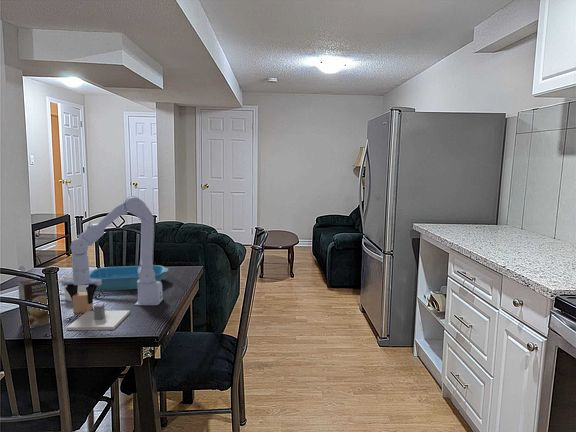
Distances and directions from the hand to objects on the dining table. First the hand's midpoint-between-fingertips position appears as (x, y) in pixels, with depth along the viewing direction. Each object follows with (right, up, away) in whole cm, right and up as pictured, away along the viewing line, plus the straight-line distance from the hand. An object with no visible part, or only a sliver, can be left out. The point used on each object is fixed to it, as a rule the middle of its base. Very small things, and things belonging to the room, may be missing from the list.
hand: (83, 303), depth 160 cm
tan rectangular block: (0, -3, 0) cm, 3 cm away
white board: (+11, -4, -10) cm, 16 cm away
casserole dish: (+4, +1, +35) cm, 36 cm away
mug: (-12, -1, +15) cm, 19 cm away
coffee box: (-10, -5, -13) cm, 17 cm away
